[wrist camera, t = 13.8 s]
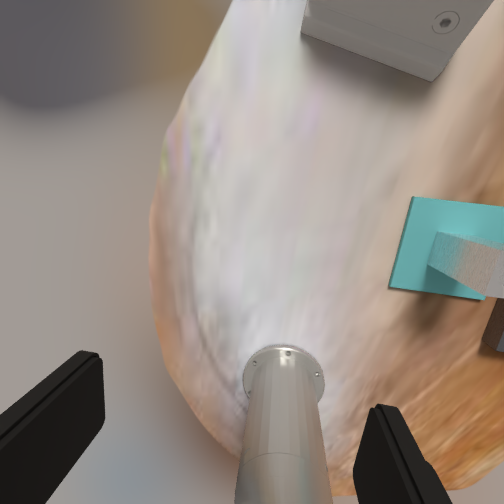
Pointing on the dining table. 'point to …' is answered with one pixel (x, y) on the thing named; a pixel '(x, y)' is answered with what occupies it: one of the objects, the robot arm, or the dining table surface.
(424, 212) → the mat
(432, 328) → the dining table surface
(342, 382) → the dining table surface
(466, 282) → the steel block
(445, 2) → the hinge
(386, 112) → the dining table surface
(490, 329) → the slotted plate
